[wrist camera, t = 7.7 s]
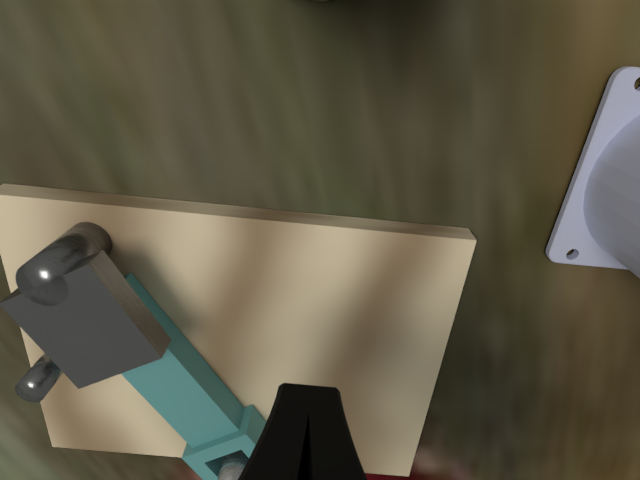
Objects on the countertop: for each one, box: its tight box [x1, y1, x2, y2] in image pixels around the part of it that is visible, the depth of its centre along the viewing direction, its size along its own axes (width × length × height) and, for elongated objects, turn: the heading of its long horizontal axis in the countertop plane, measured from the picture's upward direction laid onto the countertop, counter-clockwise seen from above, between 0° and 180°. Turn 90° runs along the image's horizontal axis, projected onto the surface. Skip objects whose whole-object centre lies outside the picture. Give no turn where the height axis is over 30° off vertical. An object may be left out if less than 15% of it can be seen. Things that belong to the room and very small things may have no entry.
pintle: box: [218, 450, 249, 480], centre depth 22 cm, size 1×1×3 cm
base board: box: [0, 184, 477, 476], centre depth 21 cm, size 20×15×1 cm
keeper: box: [0, 222, 171, 402], centre depth 18 cm, size 6×7×5 cm
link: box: [121, 273, 266, 480], centre depth 21 cm, size 13×4×2 cm, turn 28°
